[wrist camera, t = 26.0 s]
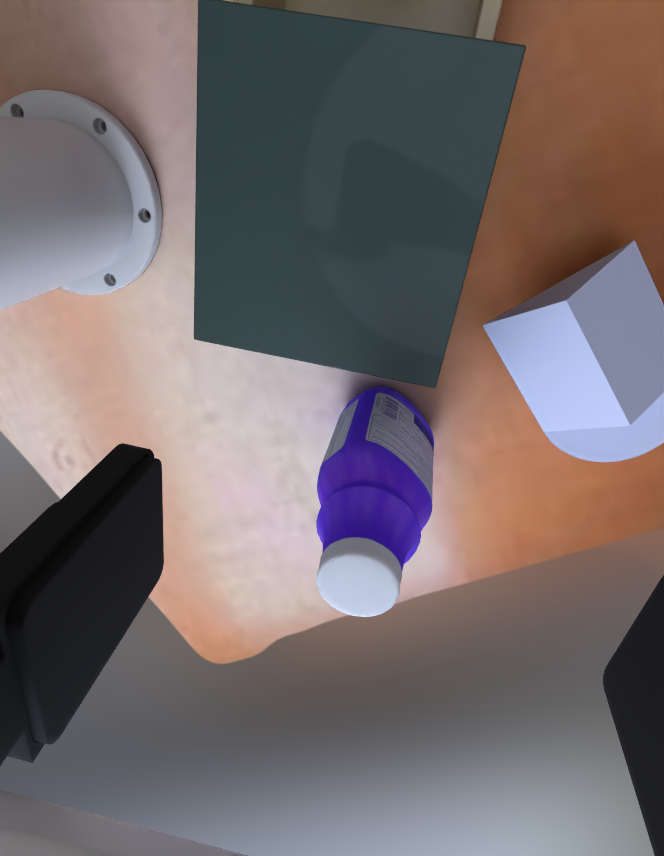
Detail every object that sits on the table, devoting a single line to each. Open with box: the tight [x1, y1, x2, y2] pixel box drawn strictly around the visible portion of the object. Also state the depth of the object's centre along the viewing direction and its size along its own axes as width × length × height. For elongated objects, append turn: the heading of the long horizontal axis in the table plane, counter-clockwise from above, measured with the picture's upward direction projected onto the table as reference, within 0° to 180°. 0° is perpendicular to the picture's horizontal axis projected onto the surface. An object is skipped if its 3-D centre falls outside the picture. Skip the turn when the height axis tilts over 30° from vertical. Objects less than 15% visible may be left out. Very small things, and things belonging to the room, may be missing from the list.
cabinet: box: [194, 0, 526, 388], centre depth 30 cm, size 16×14×9 cm
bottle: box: [317, 386, 434, 617], centre depth 33 cm, size 7×6×17 cm
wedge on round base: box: [482, 240, 664, 462], centre depth 33 cm, size 9×7×13 cm
